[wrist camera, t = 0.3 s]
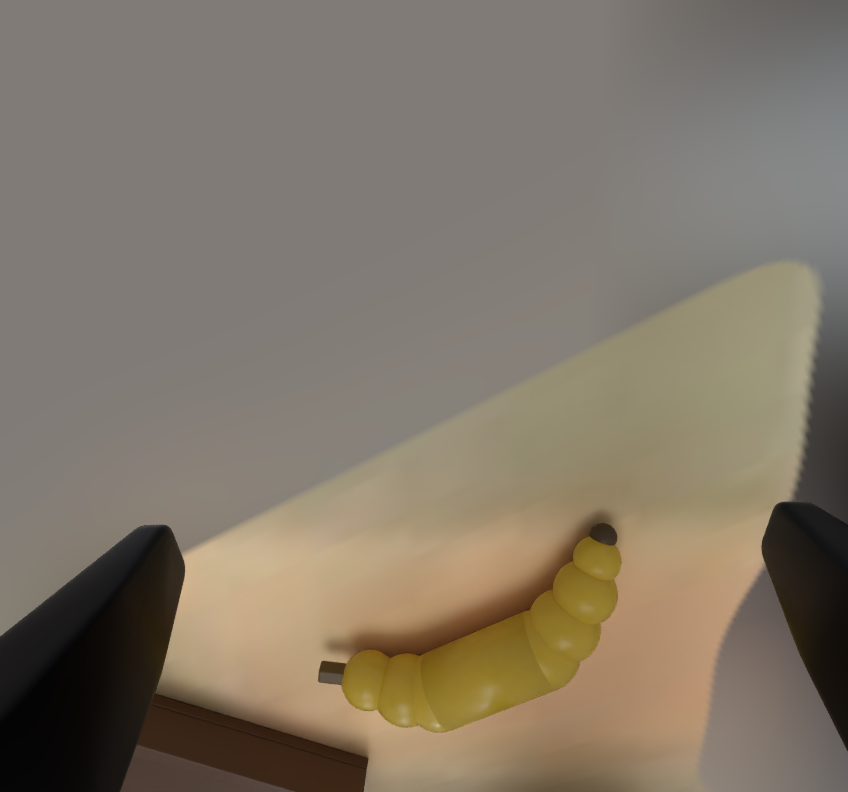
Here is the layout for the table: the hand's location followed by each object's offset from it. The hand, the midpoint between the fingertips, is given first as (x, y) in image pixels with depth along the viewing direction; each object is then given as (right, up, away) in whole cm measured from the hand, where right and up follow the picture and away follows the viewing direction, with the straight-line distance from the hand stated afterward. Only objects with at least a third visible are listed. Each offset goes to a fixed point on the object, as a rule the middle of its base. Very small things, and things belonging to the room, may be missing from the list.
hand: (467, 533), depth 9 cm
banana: (+2, -9, +19) cm, 21 cm away
